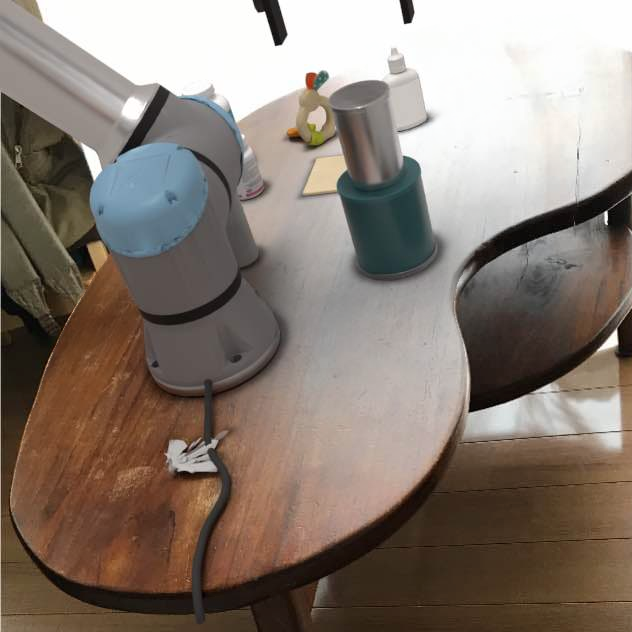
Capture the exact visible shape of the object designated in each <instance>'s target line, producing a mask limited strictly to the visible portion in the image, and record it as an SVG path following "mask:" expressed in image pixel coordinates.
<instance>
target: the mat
mask: <svg viewBox="0 0 632 632" xmlns="http://www.w3.org/2000/svg"><path fill="white" fill-rule="evenodd" d="M346 170H347V167H346V163H345V159H344V155H343V154H340V155H333V156H325V157H317V158H316V159H315V162H314V164H313V167H312V169H311V172H310V174H309V177H308V179H307V181H306V184H305V186H304V189H303V191H302V196H303V197H306V196H314V195H316V196H317V195H324V194H325V195H326V194H331V193H332V194H333V193H338V191H337V181H338V179H339V177H340V176H341V175H342V174H343V173H344V172H345V171H346Z"/></svg>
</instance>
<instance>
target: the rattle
mask: <svg viewBox="0 0 632 632" xmlns="http://www.w3.org/2000/svg"><path fill="white" fill-rule="evenodd" d="M329 79H330V74H329V72H328V70H325V69H321V70H319V72H318V73H316V72H313V71H310V72H309V71H308V72H307V73H306V74H305V80H304V81H305V86H306V88H304V90H303V91H301V93H300V95H299V98H298V103H299V108H298V111H297V112H296V113H297V114H296V119H295V122H296V123H295V127H291V128H288V129H287V131H286V133H285V134H286V136H288V137H291V138H292V137H300V138H301V139H302V140H303V141H304V142H305V144H306V145H310V146H320V145H322V144H323V143H324V142H326V141H327V140H328V139H330V138H333V137H334V135H335V133H336V125H335V121H334V117H333V114H332V111H331V110H330V109H329V106H328V98H329V97H327V96H325V95H322V94H321V95H320V93H319V92H318V91H319V89H321V87H323V85H324V84H326V82H327V81H328V80H329ZM319 107H322V108H323V109H324V111H325V122H324V123H323V124H322V126H321V129H320V130H319V131H317V130H316V129H317V128H316V127H317V126H316V123H310V122H308V119H309V115H310V113H312V112H315V111H317V110H318V109H319Z"/></svg>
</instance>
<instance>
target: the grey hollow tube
mask: <svg viewBox="0 0 632 632" xmlns="http://www.w3.org/2000/svg"><path fill="white" fill-rule="evenodd" d="M226 234H227V237H228V240H229V243H230V245H231V248H232V251H233V253H234V256H235V259H236V261H237V264H238V267H239V269H242V268H245V267H247V266H249V265H251V264H253V263H254V262H255V261H256V260H257V259H258V257H259V255H260V254H259V253H260V252H259V249H258V247H257V243H256V241H255V238H254V236H253V233H252V229H251V227H250V224H249V222H248V219H247V216H246V213H245V210H244V207H243V204H242V202H241V200H240V199H239V196H238V193H237V191H236V192H235V196H234V199H233V203H232V206H231V210H230V213H229V216H228V220H227V223H226Z"/></svg>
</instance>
